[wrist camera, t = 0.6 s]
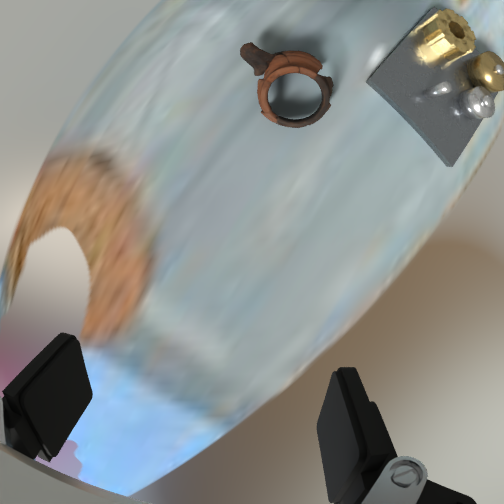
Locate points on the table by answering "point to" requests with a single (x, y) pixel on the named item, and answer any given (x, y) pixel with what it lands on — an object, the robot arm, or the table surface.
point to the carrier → (439, 91)
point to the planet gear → (449, 34)
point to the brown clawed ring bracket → (280, 66)
